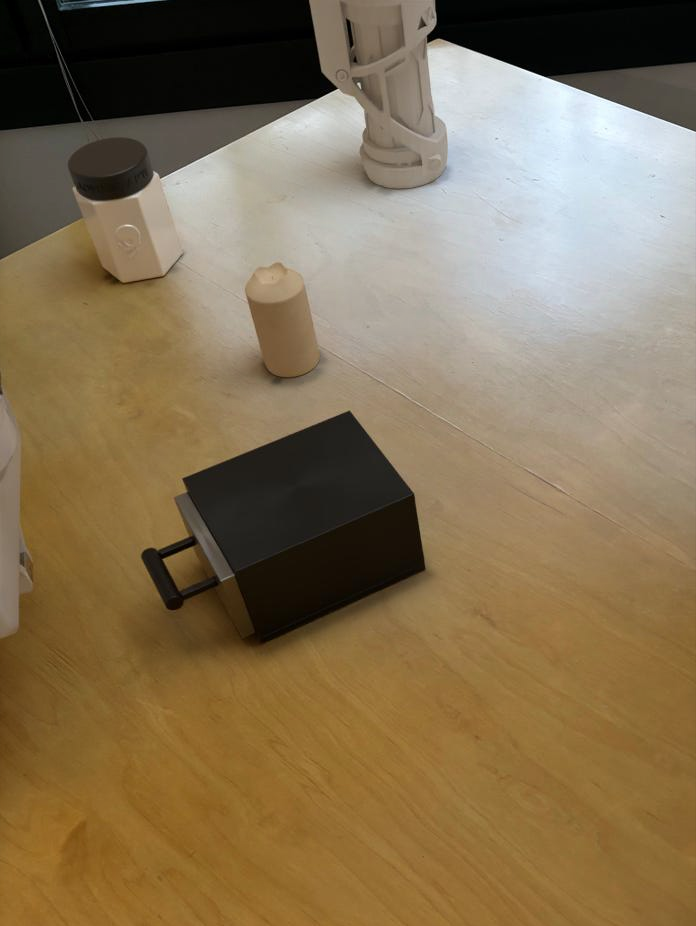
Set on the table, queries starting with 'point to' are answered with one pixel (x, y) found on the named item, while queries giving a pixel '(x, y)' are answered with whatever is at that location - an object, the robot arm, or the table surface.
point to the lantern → (386, 83)
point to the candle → (282, 320)
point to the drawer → (211, 562)
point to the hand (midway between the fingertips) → (22, 579)
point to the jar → (124, 209)
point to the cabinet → (310, 523)
